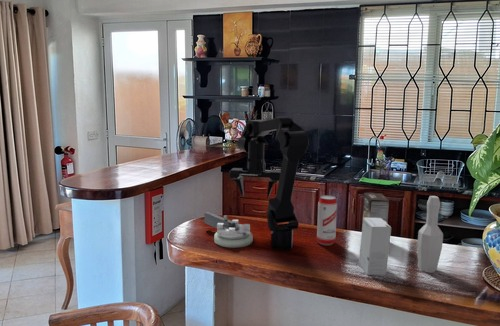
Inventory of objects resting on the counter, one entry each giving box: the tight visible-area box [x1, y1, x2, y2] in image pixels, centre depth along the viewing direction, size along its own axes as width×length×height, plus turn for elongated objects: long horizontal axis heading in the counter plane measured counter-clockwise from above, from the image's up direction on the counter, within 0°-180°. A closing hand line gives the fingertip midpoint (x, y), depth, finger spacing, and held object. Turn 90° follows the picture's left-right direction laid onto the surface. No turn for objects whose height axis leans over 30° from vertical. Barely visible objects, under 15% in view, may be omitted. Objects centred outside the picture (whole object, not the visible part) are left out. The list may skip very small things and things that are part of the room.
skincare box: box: [358, 217, 392, 276], centre depth 135 cm, size 8×6×15 cm
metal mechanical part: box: [204, 211, 251, 240], centre depth 161 cm, size 11×22×5 cm, turn 40°
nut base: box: [213, 231, 254, 249], centre depth 158 cm, size 13×13×2 cm
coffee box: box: [361, 192, 390, 227], centre depth 159 cm, size 9×6×16 cm
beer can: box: [316, 194, 338, 246], centre depth 157 cm, size 6×6×16 cm
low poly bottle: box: [417, 195, 444, 273], centre depth 135 cm, size 6×6×22 cm
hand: (255, 197), depth 169 cm, fingers open, 9 cm apart
